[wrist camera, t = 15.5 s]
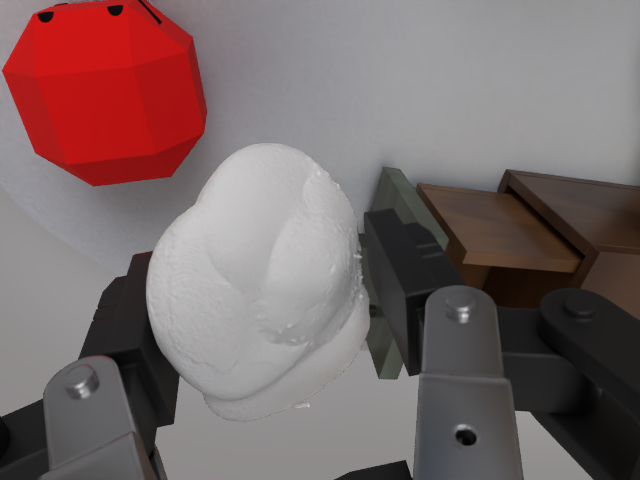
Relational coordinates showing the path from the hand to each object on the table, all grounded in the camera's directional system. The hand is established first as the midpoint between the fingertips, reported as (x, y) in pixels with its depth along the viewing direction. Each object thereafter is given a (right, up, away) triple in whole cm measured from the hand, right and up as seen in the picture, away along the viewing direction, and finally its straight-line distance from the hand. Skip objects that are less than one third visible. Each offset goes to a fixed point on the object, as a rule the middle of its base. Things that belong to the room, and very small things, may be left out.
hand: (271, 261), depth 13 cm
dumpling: (0, 0, +1) cm, 1 cm away
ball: (-9, +10, +15) cm, 20 cm away
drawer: (+7, +1, +22) cm, 23 cm away
